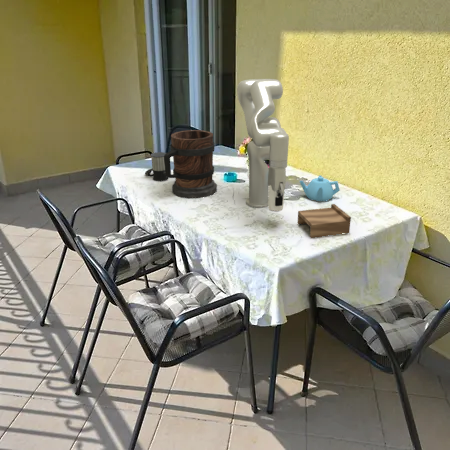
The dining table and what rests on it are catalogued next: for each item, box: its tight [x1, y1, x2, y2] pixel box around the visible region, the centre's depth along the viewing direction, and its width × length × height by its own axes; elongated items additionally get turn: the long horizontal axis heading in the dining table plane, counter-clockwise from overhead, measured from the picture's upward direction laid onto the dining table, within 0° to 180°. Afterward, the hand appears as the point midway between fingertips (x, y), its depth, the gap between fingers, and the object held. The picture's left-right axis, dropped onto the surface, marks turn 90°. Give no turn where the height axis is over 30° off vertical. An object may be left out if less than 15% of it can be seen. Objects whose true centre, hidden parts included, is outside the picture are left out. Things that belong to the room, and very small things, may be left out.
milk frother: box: [144, 151, 170, 182], centre depth 248 cm, size 14×16×15 cm
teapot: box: [299, 175, 341, 202], centre depth 216 cm, size 15×15×11 cm
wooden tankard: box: [164, 129, 218, 200], centre depth 222 cm, size 24×30×30 cm
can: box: [267, 185, 285, 212], centre depth 184 cm, size 6×6×12 cm
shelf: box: [297, 203, 352, 239], centre depth 183 cm, size 15×17×8 cm
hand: (276, 202), depth 186 cm, fingers closed on can, 6 cm apart
